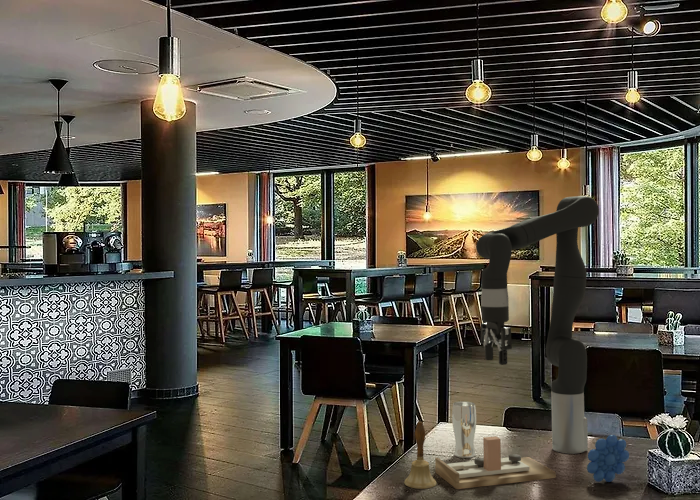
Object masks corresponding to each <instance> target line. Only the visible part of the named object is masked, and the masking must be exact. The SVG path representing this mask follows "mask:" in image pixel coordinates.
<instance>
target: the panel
mask: <svg viewBox="0 0 700 500" xmlns="http://www.w3.org/2000/svg"><path fill="white" fill-rule="evenodd" d="M482 438H483V440H482V441H483V442H482V443H483V445H482V446H483V458H484V465H483V467H481V468H478V465H476V464H475V463H474V460H472V461H462V462H453V463H452V462H451V463H446V464H447V465H448V466H450V467H451V468H453V469H454V470H455V471H456V470H459V469H464V470H463V471H457V472H458V473H459V478H466V477H475V476H484V475H493V474H502V473H511V472H520V471H529V470H530V467H529V466H528V465H526V464H524V463H523V462H521V461H518V464H512V461H510V460H509V456H507V457H502V452H501V450H502V449H501V447H502V446H501V438H500V437H499V436H498V437H497V436H496V435H495V436H485V437H482Z"/></svg>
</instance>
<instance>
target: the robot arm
mask: <svg viewBox="0 0 700 500" xmlns="http://www.w3.org/2000/svg"><path fill="white" fill-rule="evenodd" d="M599 210H600V209H599V205H598V203H597V201H596V200H595V199H594V198H592V197H590V196H586V195H577V196H566V197H564V198H562V199H561V200H560V201H559V202H558V204H557V207H556V211H554V212H550V213H547V214H543V215H539V216H535V217H531V218H528V219H525V220H522V221H520V222H517V223H514V224H512V225H510V226H508V227H506V228H502V229H497V230H494V231H491V232H488V233H484V234H483V235H481V236H480V237H479V239H478V240H477V242H476V245H475V247H476V252H477V254H478V255H479V256H480V257H482V258H483V259H488V260H489V261H488V266H487V267H485V268H483V270H482V272H481V294H480V295H481V298H480V302H481V303H480V304H481V310H480V311H481V321H482V323H480V344H482V346H483V348H484V358H485V359H484V360H486V361H493V360H494V347H493V345H494V344H495V345H496V346H497V349H498V364H499V365H501V366H502V365H503V366H504V365H508V351H509V350H512V329H511V327H506V326H505V323H506V322H509V320H510V316H509V315H510V313H509V311H510V307H509V303H510V302H509V301H510V300H509V292H508V272H509V268H510V263H511V258H512V254H513V253H512V252H513V250H519V249H522V248H525V247H528V246H530V245H532V244H535V243H537V242H539V241H542V240H544V239H546V238H549V237H552V236H555V235H556V237H555V238H556V246H555V247H556V248H555V264H554V265H555V266H554V274H553V275H554V276H553V288H552V289H553V290H552V291H553V292H552V302H551V303H552V304H551V316H550V322H549V323H550V324H549V329H548V334H547V339H546V345H545V355H546V358H547V360H548V362H549V363H550V364H552V365H553V366H555V367H558V372H557V373H558V375H557V378H556V379H553V380H552V381H551V384H550V385H551V386H550V387H551V388H550V392H551V396H550V398H551V438H552V439H551V442H552V443H551V445H552V447H551V448H552V450H553V451H555V452H557V453H563V454H567V455H568V454H571V455H573V454H574V455H576V454H580V453H584V452H588V451H589V449H588V448H589V447H588V446H589V445H588V443H589V441H588V440H589V439H588V438H589V437H588V418H587V417H586V416H585V394H584V393H585V386H586V383H587V377H588V376H587V375H588V372H587V371H588V355H587V354H588V353H587V348H586V346H585V344H584V343H583V342H582V340H581V341H580V340H579V339H577V338H573V326H574V325H573V324H574V321H575V317H576V315H577V314H578V313H577V312H578V311H579V309H580V307H581V305H582V303H583V300H584V299H585V295H586V289H587V288H586V287H587V269H586V268H587V267H586V265H585V262H584V260H583V257H582V255H581V252H580V248H579V243H578V236H579V235H578V233H579V228H585V227H588V226H591V225H593V224H594V223H595V222H596V220H597V219H598V217H599V212H600V211H599Z"/></svg>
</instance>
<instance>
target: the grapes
mask: <svg viewBox="0 0 700 500" xmlns="http://www.w3.org/2000/svg"><path fill="white" fill-rule="evenodd" d="M594 444H595V445H594V447H595V448H592V449H590V450H588V451H589V452H587V459H588V460H589V462H588V464H587V465H586V471H587V472H588V473H589V474H593V476H592V477H593V479H594V481H595V482H597V483H598V482H602V481H605V482H606V483H607V482H608V483H610V482H613V481H614V480H615V478H616V475H622V474H623V473H624V472H625V470H626V466H625V465H626V464H625V463H626V462H627V461H628V460H629V459H630V452H629V451H628V450H627V449H626V448H627V442H626V440H625V439H623V438H621V439H620V438H619V439H618V437H617V435H615V434H609V435H608V436H607V437H606V439H605V438H599V439H597V440H596V442H595V443H594Z"/></svg>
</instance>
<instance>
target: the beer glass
mask: <svg viewBox="0 0 700 500" xmlns="http://www.w3.org/2000/svg"><path fill="white" fill-rule="evenodd" d="M451 408H452V410H451V422H452V429H453V433H454V434H453V435H454V442H455V444H454V445H455V446H454V447H455V448H454V452H453V453H454V456H455V457H457V458H460V459H469V458H474V457H476V450H475V444H474V443H475V442H474V441H475V436H476V435H475V433H476V428H477V410H476V409H477V408H476V403H475V402H473V401H468V400H467V401H464V400H463V401H462V400H461V401H454V402H453V403H452V407H451Z"/></svg>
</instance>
